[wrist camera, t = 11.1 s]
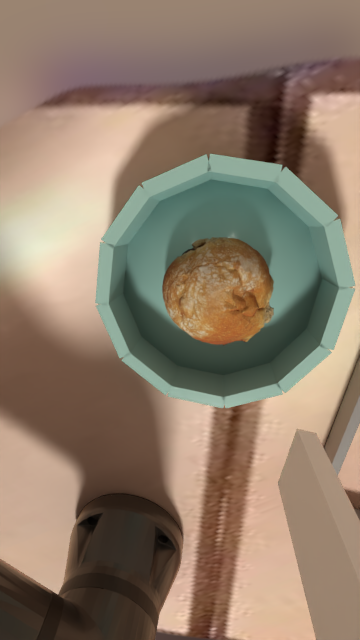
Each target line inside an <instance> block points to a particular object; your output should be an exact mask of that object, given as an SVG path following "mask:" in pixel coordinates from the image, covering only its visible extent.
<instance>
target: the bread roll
mask: <svg viewBox="0 0 360 640" xmlns="http://www.w3.org/2000/svg"><path fill="white" fill-rule="evenodd" d="M192 246H193V248H192V249H188V250H187V251H185V252H184V253H183V254H182V255H181V256H179V257H177V258H176V259H175V260H174V261H173V262H172V263H171V264H170V266H169V267H168V269H167V271H166V273H165V275H164V279H163V285H162V293H163V300H164V303H165V307H166V310H167V312H168V314H169V316H170V317H171V319H172V320H173V321H174V323H175V324H177V325H178V327H179V328H181V329H182V330H183V331H185V332H186V333H188V334H189V335H190V336H191V337H193V338H194V339H196V340H200V341H202V342H206V343H210V344H215V345H220V344H222V345H223V346H224V345H226V344H228V343H231V342H234V341H243V342H248V340H249V339H250V338H252V337H253V336H254V335H255V334H256V333H258V332H259V331H261V330H260V329H261V328H263V327H264V325H265V324H264V323H268V322H270V320H271V318H272V316H273V315H274V308H272V307H270V305H269V300H270V298H271V296H272V292H273V289H274V288H273V284H274V281H273V279H272V277H271V275H270V273H269V268H268V265H267V263H266V261H265V259H264V258H263V256H262V255H261V254H260V253H259V252H258V251H257V250H255V249H253V248H252V247H251V246H250V245H248V244H247V243H245V242H243V241H241V240H239V239H236V238H227V237H219V238H215V237H212V238H211V239H208V238H205V239H199V240H197V241H195V242H194V243H193V244H192Z"/></svg>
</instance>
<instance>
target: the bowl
mask: <svg viewBox="0 0 360 640" xmlns="http://www.w3.org/2000/svg"><path fill="white" fill-rule="evenodd" d="M281 169H282V165H280V164H274V163H267V162H261V161H254V160H248V159H242V158H235V157H229V156H223V155H216V154H210V157H209V160H208V157H207V154H205V155H203V156H201V157H199V158H196V159H194V160H192V161H190V162H187V163H185V164H183V165H181V166H178V167H176V168H174V169H172V170H169V171H167V172H165V173H162V174H160V175H158V176H156V177H153V178H151V179H149V180H147V181H144V182H142V185H143V187H142V186H140V185H139V186H138V187H137V188H136V190H135V191H134V193H133V194H132V196H131V197H130V199H129V200H128V201H127V203H126V204H125V206H124V207H123V209H122V210H121V212H120V213H119V214H118V216H117V217H116V219H115V220H114V222H113V223H112V225H111V226H110V227H109V229H108V230H107V232H106V233H105V235H104V236H103V238H102V239H101V240H103V241H104V242H100V251H99V264H98V277H97V290H96V302H95V303H98V305H97V306H96V307H97V309H98V312H99V314H100V316H101V318H102V320H103V323H104V325H105V327H106V329H107V331H108V334H109V336H110V338H111V340H112V343H113V345H114V347H115V349H116V351H117V354H118V356H119V358H122V357H124V358H123V359H122V360H121V361H123V362H124V363H125V364H126V365H128V366H129V367H130V368H131V369H133V370H134V371H135V372H137V373H138V374H139V375H140V376H142V377H143V378H144V379H145V380H147V381H148V382H149V383H150V384H152V385H153V386H154V387H155V388H157V389H158V390H159V391H161V392H162V393H163V394H164V395H166V394H167V393H168V397H173V398H177V399H182V400H187V401H191V402H196V403H201V404H205V405H210V406H214V407H219V408H223V407H224V404H225V407H226V408H229V407H233V406H237V405H241V404H245V403H249V402H253V401H258V400H262V399H266V398H270V397H274V396H278V395H282V394H283V393H282V390H283V391H284V392H285V393H286V392H287V391H288V390H289V389H290V388H292V387H293V386H294V385H295V384H296V383H297V382H299V381H300V380H301V379H302V378H303V377H304V376H305V375H307V374H308V373H309V372H310V371H311V370H312V369H313V368H315V367H316V366H317V365H318V364H319V363H320V362H321V361H323V360H324V359H325V358H326V357H327V356H328V355H330V354H331V353H332V352H331V351H330V350H329V349H331V350H334V347H335V344H336V342H337V339H338V336H339V333H340V330H341V328H342V325H343V322H344V319H345V316H346V313H347V311H348V308H349V305H350V302H351V299H352V296H353V294H354V291H355V288H353V287H352V286H355V281H354V277H353V273H352V268H351V264H350V260H349V255H348V251H347V246H346V242H345V238H344V233H343V229H342V224H341V220H340V219H336V218H337V216H338V215H337V214H336V213H335V212H334V211H333V210H332V209H331V208H330V207H329V206H328V205H327V204H325V203H324V202H323V201H322V200H321V199H320V198H319V197H318V196H317V195H316V194H315V193H314V192H313V191H312V190H310V189H309V188H308V187H307V186H306V185H305V184H304V183H303V182H302V181H301V180H300V179H299V178H298V177H297V176H295V175H294V174H293V173H292V172H291V171H290V170H289V169H288V168H287V167H285V168H284V169H282V170H281ZM212 237H215V238H219V237H227V238H236V239H239V240H241V241H243V242H245V243H247V244H248V245H250V246H251V247H252V248H253V249H255V250H257V251H258V252H259V253H260V254H261V255H262V256H263V258H264V259H265V261H266V263H267V265H268V268H269V273H270V275H271V277H272V279H273V281H274V284H273V288H274V289H273V292H272V296H271V298H270V300H269V305H270V307H272V308H274V315H273V316H272V318H271V320H270V322H268V323H264V324H265V325H264V327H263V328H261V329H260V330H261V331H259V332H258V333H256V334H255V335H254V336H253V337H252V338H250V339H249V340H248V342H243V341H234V342H231V343H228V344H226V345H224V346H223V345H222V344H220V345H215V344H210V343H206V342H202V341H200V340H196V339H194V338H193V337H191V336H190V335H189V334H188V333H186V332H185V331H183V330H182V329H181V328H179V327H178V325H177V324H175V323H174V321H173V320H172V319H171V317H170V316H169V314H168V312H167V310H166V307H165V303H164V300H163V293H162V285H163V279H164V275H165V273H166V271H167V269H168V267H169V266H170V264H171V263H172V262H173V261H174V260H175V259H176V258H177V257H179V256H181V255H182V254H183V253H184V252H185V251H187V250H188V249H192V248H193V246H192V244H193V243H194V242H195V241H197V240H199V239H205V238H208V239H211V238H212Z"/></svg>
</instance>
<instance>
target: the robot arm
mask: <svg viewBox="0 0 360 640" xmlns="http://www.w3.org/2000/svg"><path fill="white" fill-rule="evenodd" d="M278 486H279V490H280V494H281V498H282V502H283V506H284V510H285V514H286V518H287V522H288V527H289V531H290V535H291V539H292V543H293V547H294V551H295V555H296V559H297V563H298V567H299V571H300V575H301V579H302V584H303V588H304V592H305V596H306V600H307V604H308V608H309V612H310V616H311V620H312V624H313V628H314V632H315V637H316V640H360V520H359V518H358V516H357V514H356V512H355V510H354V508H353V506H352V504H351V502H350V500H349V498H348V496H347V494H346V492H345V490H344V488H343V486H342V484H341V482H340V480H339V478H338V476H337V474H336V472H335V470H334V468H333V466H332V464H331V462H330V460H329V458H328V456H327V454H326V452H325V450H324V448H323V446H322V444H321V442H320V440H319V438H318V436H317V434H316V433H313V432H308V431H304V430H299V429H297V431H296V433H295V436H294V439H293V442H292V445H291V448H290V450H289V453H288V456H287V459H286V462H285V464H284V467H283V470H282V473H281V476H280V479H279V481H278ZM182 549H183V539H182V534H181V531H180V529H179V527H178V525H177V524H176V522H175V521H174V519H173V518H172V517H171V516H170V515H169V514H168V513H167V512H166V511H165V510H163V509H162V508H161V507H159V506H158V505H156V504H154V503H152V502H150V501H148V500H146V499H143V498H140V497H137V496H132V495H125V494H112V495H106V496H102V497H99V498H97V499H95V500H93V501H91V502H90V503H88V504H87V505H86V506H85V507H84V508H83V510H82V511H81V513H80V515H79V517H78V519H77V521H76V523H75V525H74V527H73V530H72V533H71V538H70V545H69V551H68V558H67V564H66V570H65V577H64V582H63V585H62V587H61V590H60V592H59V594H58V595H57V594H56V593H54V592H52V591H51V590H49V589H48V588H46V587H44V586H43V585H41V584H40V583H38V582H36V581H35V580H33V579H32V578H30V577H28V576H27V575H25V574H24V573H22V572H20V571H19V570H17V569H16V568H14V567H12V566H11V565H9V564H7V563H6V562H4V561H3V560H1V559H0V640H155V637H156V631H157V624H158V618H159V614H160V611H161V609H162V607H163V605H164V602H165V600H166V598H167V596H168V593H169V591H170V589H171V587H172V584H173V582H174V580H175V578H176V575H177V573H178V571H179V568H180V564H181V557H182Z"/></svg>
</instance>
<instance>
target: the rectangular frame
mask: <svg viewBox="0 0 360 640" xmlns="http://www.w3.org/2000/svg"><path fill="white" fill-rule="evenodd" d="M359 423H360V357H359V359H358V362H357V364H356V367H355V370H354V372H353V375H352V377H351V380H350V383H349V385H348V388H347V390H346V393H345V396H344V398H343V401H342V403H341V406H340V408H339V411H338V414H337V416H336V419H335V421H334V424H333V427H332V429H331V432H330V434H329V437H328V440H327V442H326V445H325V447H324V450H325V452H326V454H327V456H328V458H329V460H330V462H331V464H332V466H333V468H334V470H335V472H336V474H337V476H338V474H339V471H340V469H341V466H342V464H343V462H344V459H345V457H346V454H347V452H348V450H349V447H350V445H351V442H352V440H353V438H354V435H355V433H356V430H357V428H358V426H359ZM354 510H355V512H356V514H357V516H358V518H359V520H360V510H358V509H354Z"/></svg>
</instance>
